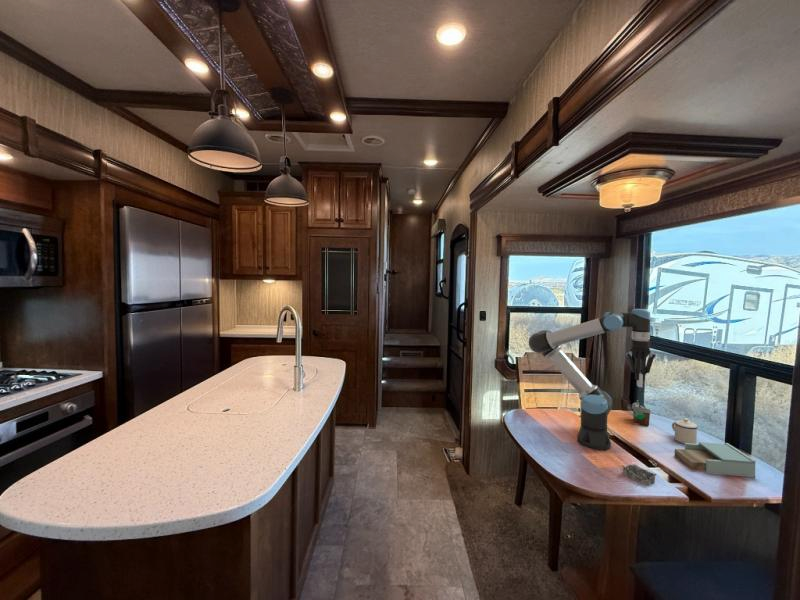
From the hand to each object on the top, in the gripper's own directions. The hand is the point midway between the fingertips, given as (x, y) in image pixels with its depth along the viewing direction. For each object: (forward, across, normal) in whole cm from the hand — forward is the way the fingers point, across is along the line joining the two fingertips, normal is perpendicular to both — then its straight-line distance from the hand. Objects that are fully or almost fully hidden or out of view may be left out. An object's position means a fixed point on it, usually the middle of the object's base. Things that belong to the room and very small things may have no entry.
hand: (639, 386), depth 170 cm
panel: (+30, +20, -16) cm, 39 cm away
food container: (+30, +12, +29) cm, 43 cm away
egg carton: (+30, -14, -34) cm, 47 cm away
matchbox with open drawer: (+29, +24, -16) cm, 41 cm away
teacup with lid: (+30, +24, +9) cm, 39 cm away
